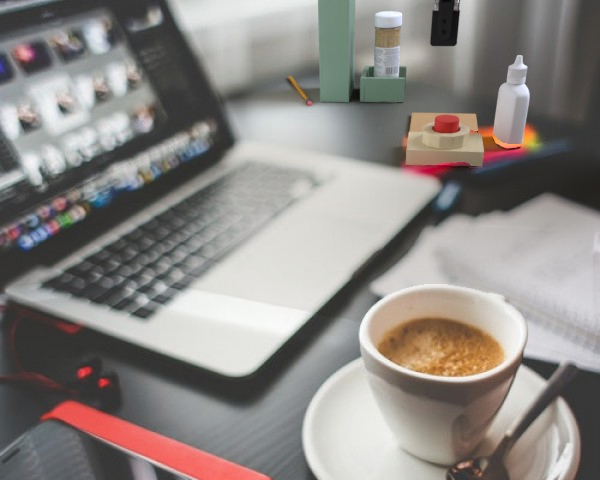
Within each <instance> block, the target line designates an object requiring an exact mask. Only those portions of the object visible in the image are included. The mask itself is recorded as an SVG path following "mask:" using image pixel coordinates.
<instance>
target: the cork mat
mask: <svg viewBox="0 0 600 480" xmlns="http://www.w3.org/2000/svg"><path fill="white" fill-rule="evenodd" d="M439 115H454V116H457V117H458V118H459V123H462V124H464V125H466V126H468V127H469V130H473V131H478V132H479V127H478V119H477V114H476V113H456V112H451V113H450V112H411V115H410V125H409V132H423V126H424V125H426V124H428V123H431V122H435V117H437V116H439Z"/></svg>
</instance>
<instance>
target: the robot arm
mask: <svg viewBox="0 0 600 480" xmlns="http://www.w3.org/2000/svg"><path fill="white" fill-rule="evenodd" d="M460 4H461V0H434V9H432V11H431V12H432V13H431V24H430V25H431V26H430V40H429V44H430V46H431V47H456V46H457V44H458V37H459V25H460V16H461V14H460V13H461V9H460Z"/></svg>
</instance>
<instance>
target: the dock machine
mask: <svg viewBox="0 0 600 480" xmlns="http://www.w3.org/2000/svg"><path fill="white" fill-rule="evenodd" d="M317 19H318V23H317V24H318V25H317V26H318V63H319V64H318V67H319V68H318V69H319V70H318V71H319V72H318V73H319V102H320V103H349V102H350V100H351V98H352V94H353V92H354V90H353V89H355V83H356V82H355V80H356V79H355V78H356V77H355V76H356V74H355V72H356V68H355V67H356V65H355V64H356V0H317ZM407 68H408V66H407V65H399V77H374V65H365V66H364V67H363V70H362V73H361V76H360V78H359V80H360V81H359V103H384V102H383V101H401V100H402V101H403V102H404V97H405V90H404V85H406V86H407V71H408V69H407ZM352 91H353V92H352ZM381 101H382V102H381Z"/></svg>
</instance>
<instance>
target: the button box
mask: <svg viewBox="0 0 600 480" xmlns="http://www.w3.org/2000/svg"><path fill="white" fill-rule="evenodd" d="M478 133H479V132H478ZM478 133H470V130H469V127H468V126H466V125H464V124H462V123H459V127H458V132H456V133H438V132H435V131H434V122H431V123H428V124H426V125H424V126H423V132H410V131H408V133H407V134H408V135H407V142H406V144H407V145H406V153H405V154H406V155H405V166H425V165H436V164H442V163H452V162H453V163H457V162H466V163H469V164H470V165H471V166H482V167H483V165H484V157H485V147H484V142H483V135H482V133H479V134H478Z"/></svg>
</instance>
